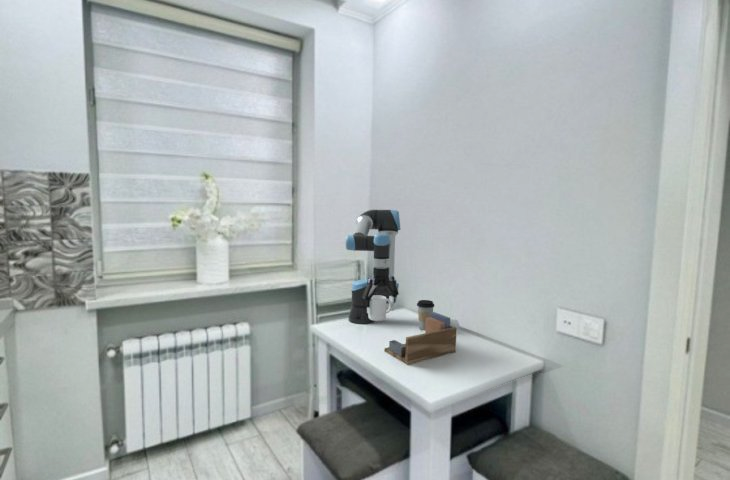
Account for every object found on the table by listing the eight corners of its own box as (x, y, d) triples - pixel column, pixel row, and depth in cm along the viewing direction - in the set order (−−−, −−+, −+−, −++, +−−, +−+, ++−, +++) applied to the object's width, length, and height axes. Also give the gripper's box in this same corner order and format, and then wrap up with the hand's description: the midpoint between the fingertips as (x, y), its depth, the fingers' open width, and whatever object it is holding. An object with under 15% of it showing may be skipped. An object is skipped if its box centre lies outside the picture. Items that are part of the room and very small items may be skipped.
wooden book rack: (384, 351, 178) (384, 326, 177) (430, 340, 193) (431, 318, 192) (407, 364, 164) (408, 338, 163) (455, 352, 179) (456, 327, 178)
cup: (365, 317, 186) (365, 296, 184) (386, 313, 192) (386, 293, 190) (374, 322, 179) (374, 300, 177) (395, 318, 184) (396, 297, 183)
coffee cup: (433, 326, 215) (433, 299, 214) (434, 332, 206) (435, 304, 204) (415, 325, 216) (416, 299, 215) (416, 331, 207) (417, 303, 205)
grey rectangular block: (389, 349, 176) (389, 341, 175) (394, 348, 177) (394, 340, 177) (401, 356, 168) (401, 347, 168) (406, 355, 170) (407, 346, 169)
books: (424, 342, 187) (425, 313, 185) (433, 340, 190) (434, 312, 188) (440, 349, 177) (441, 319, 176) (449, 347, 180) (450, 317, 179)
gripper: (363, 270, 173) (362, 317, 175) (406, 266, 185) (405, 310, 188) (355, 267, 179) (354, 313, 182) (397, 263, 192) (396, 306, 194)
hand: (380, 311), depth 185 cm, fingers closed on cup, 12 cm apart
